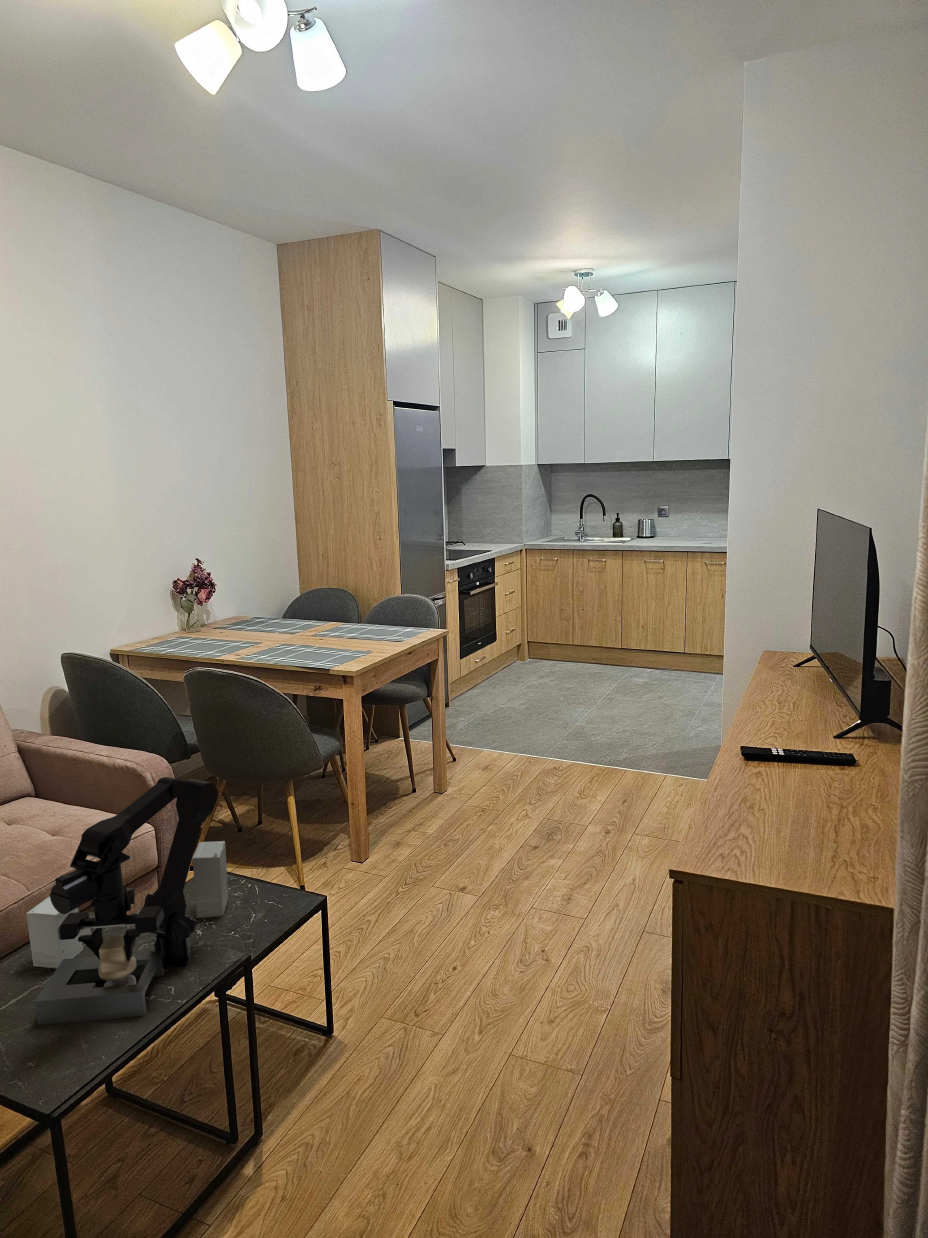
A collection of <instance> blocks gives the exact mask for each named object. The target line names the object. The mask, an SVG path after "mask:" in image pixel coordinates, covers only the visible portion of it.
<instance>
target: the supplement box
mask: <svg viewBox="0 0 928 1238" xmlns="http://www.w3.org/2000/svg"><path fill="white" fill-rule="evenodd" d="M75 912H79V907H78V908H76V909H74V910H72V911H71V912H69V913H75ZM69 913H67V914H61V913H59V912H58V911H57V910H56V909H55V908H54V906H53V905H52V902H51V899H50V896H47V897H46V898H45V899H44V900H42V901H41V902H40V903H38V904H37V905H35V906H34V907H33V908H32V909H30V910H29V911H28V912H26V913H25V916H26V924H27V928H28V929H27V930H28V935H29V943H30V944H29V945H30V949H31V950H30V952H31V958H32V964H33V965H32V966H33V967H38V968H39V967H40V968H48V969H49V968H50V969H57V968H58V966H59V965H60V963H61V962H62V961H63V959H71V958H76V956H78V955H79V954H80V953H81V952H82V951H84V945H83V942H78V938H79V934H78V935H77V937H76V938H75V939H67V940H60V939H59V935H58V928H59V926H60V924H61V923H62V922H63V920H64V919H65V918H66V916H67V915H68V914H69Z"/></svg>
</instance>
